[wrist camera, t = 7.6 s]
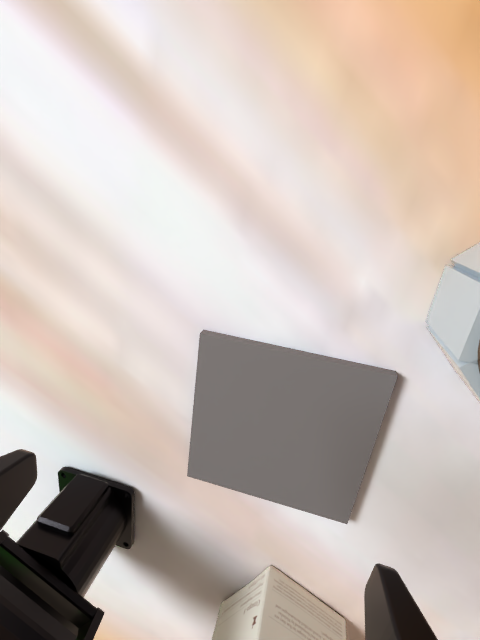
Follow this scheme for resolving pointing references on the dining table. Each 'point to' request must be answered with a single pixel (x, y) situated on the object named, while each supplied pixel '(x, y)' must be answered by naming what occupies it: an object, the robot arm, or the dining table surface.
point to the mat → (285, 423)
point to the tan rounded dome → (479, 356)
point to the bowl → (459, 316)
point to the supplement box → (277, 612)
